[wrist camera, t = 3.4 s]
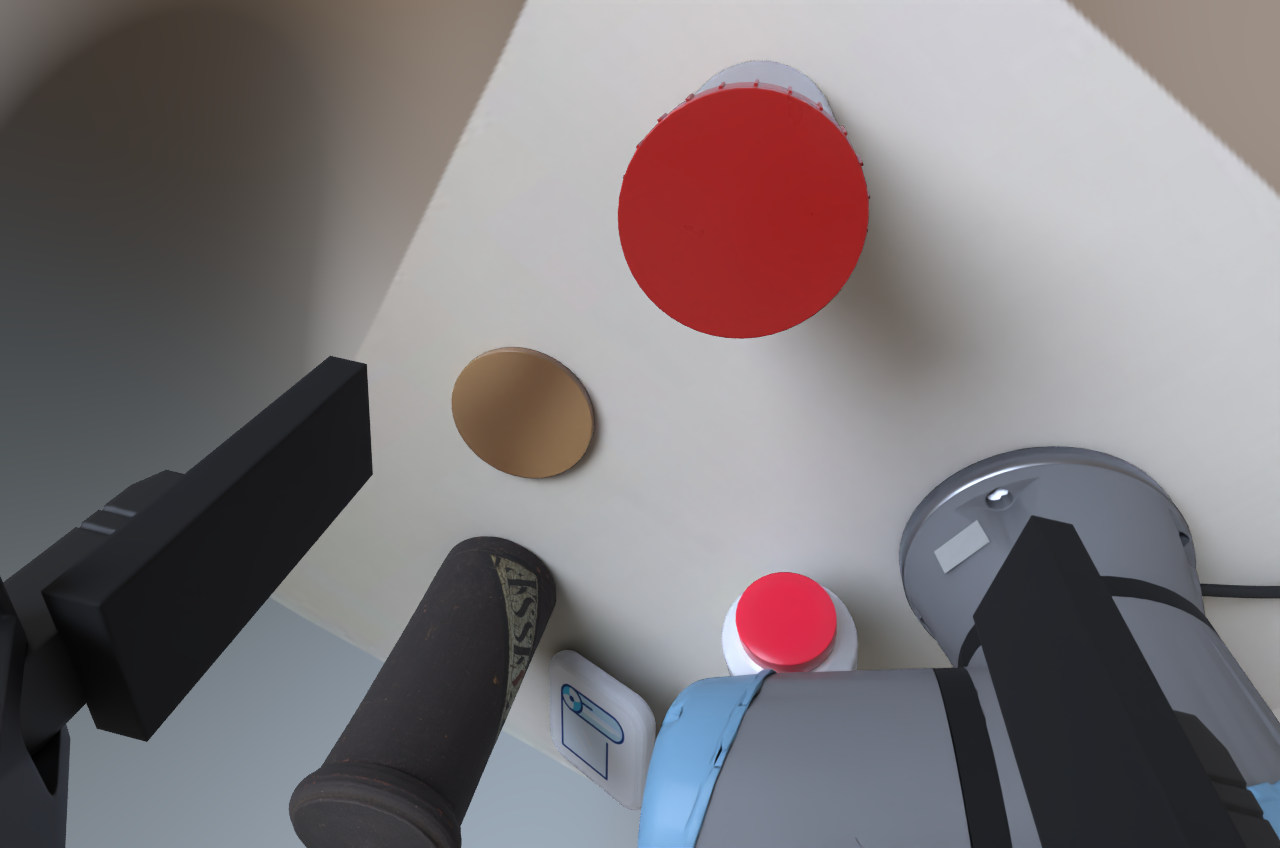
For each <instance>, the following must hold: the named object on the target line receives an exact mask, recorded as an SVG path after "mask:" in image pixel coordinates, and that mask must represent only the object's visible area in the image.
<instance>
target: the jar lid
mask: <svg viewBox="0 0 1280 848" xmlns="http://www.w3.org/2000/svg"><path fill="white" fill-rule="evenodd" d="M685 100H686V101H684V102H683V103H681V104H680V105H678V106H677V107H676V108H675V109H673V110H672V111H671V112H670V113H669V114H666V113H665V114H663V115H662V116H661V117H660V118H659V119H658V120H657V121H658V122H659V123H658V124H657V125H656V126H655V127H654V128H653V129H652V130H651V131H650V132H649V134H648V135H647V136H646V137H645V138H644V139H643V140H642V141H641V142H640V143H639V144H638V145H637V147H636V148H638V149H637V150H636V152H635V154H634V156H633V158H632V160H631V161H630V163H629V165H628V168H627V171H626V174H625V175H624V177H623V183H622V187H621V192H620V196H619V206H618V229H619V235H620V241H621V246H622V249H623V253H624V256H625V259H626V261H627V264H628V266H629V268H630V271H631V273H632V275H633V276H634V278H635V280H636V281H637V283H638V285H639V286H640V287H641V289H642V290H643V291H644V293H645V294H646V295H647V296H648V298H649V299H650V300H651V301H652V302H653V303H654V304H655V305H656V306H657V307H658V308H659V309H661V310H662V311H663V312H665V313H666V314H667V315H669V316H670V317H671V318H673V319H675V320H676V321H678V322H680V323H681V324H683V325H685V326H687V327H689V328H692V329H694V330H696V331H699V332H702V333H706V334H709V335H713V336H719V337H725V338H741V339H742V338H756V337H762V336H767V335H772V334H775V333H778V332H781V331H784V330H787V329H789V328H791V327H794V326H796V325H798V324H800V323H802V322H803V321H805V320H807V319H808V318H810V317H812V316H813V315H815V314H816V313H817V312H818V311H820V310H821V309H822V308H823V307H825V306H826V305H827V304H828V303H829V302H830V301H831V300H832V299H833V298H834V297H835V296H836V295H837V294H838V292H839V291H840V290H841V288H842V287H843V286H844V284H845V283H846V282H847V280H848V279H849V277H850V275H851V274H852V272H853V270H854V268H855V267H856V264H857V262H858V260H859V257H860V255H861V252H862V249H863V246H864V242H865V239H866V235H867V232H868V229H867V227H868V220H869V199H870V195H869V193H868V191H867V185H866V181H865V177H864V174H863V170H862V167H861V166H863V162H862V160H861V158H860V156H859V155H857V156H856V153H855V151H854V149H853V147H852V145H851V143H850V141H849V139H848V138H847V136H846V135H847V132H846V130H845V128H844V126H841V127H840V126H839V125H838V123H837V122H836V121H835V120H834V119H833V118H832V116H831V115H830V114H828V113H827V112H826V111H825V110H824V109H823V106H822V104H821V103H820V102H818V104H817V103H815V102H814V101H812V100H810V99H809V98H807V97H806V96H804V95H802V94H800V93H798V92H795V91H793V90H792V87H791V86H789V87H788V88H785V87H781V86H778V85H775V84H768V83H761V82H759V79H756V80H755V82H737V83H731V84H725V82H722V83H721V84H720V85H719V86H717V87H714V88H710V89H707V90H705V91H703V92H701V93H699V94H696V95H694V94H693V93H692V94H690V95H689V96H688V97H687V98H686V99H685Z"/></svg>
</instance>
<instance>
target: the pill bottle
mask: <svg viewBox="0 0 1280 848" xmlns="http://www.w3.org/2000/svg"><path fill="white" fill-rule="evenodd" d="M722 647H723V654H724V657H725V661H726V664H727V667H728V670H729V673H730V676H738V675H750V674H758V673H759V672H760V671H761V670H764V669H773V670H774V671H776V672H777V673H796V672H827V671H858V638H857V631H856V627H855V624H854V620H853V618H852V616H851V614H850V613H849V611H848V609H847V607H846V606H845V605H844V604H843V602H842V601H841V600H840V599H839V598H838V597H837V596H836V595H835V594H834V593H833V592H831V591H830V590H829V589H827V588H825V587H824V586H822V585H820V584H819V583H817V582H815V581H813V580H812V579H810V578H808V577H806V576H803V575H800V574H796V573H791V572H779V573H773V574H769V575H766V576H764V577H761V578H760V579H758V580H756V581H755V582H753V583H752V584H751V585H750V586H749V587H748V588H747V589H746V590H745V591H744V592H743V593H742V594H741V595H740V596H738V598H737V599H736V600H735V601H734V603H733V604H732V605H731V607H730V609H729V611H728V613H727V615H726V617H725V621H724V625H723V628H722Z"/></svg>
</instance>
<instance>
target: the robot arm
mask: <svg viewBox="0 0 1280 848" xmlns="http://www.w3.org/2000/svg"><path fill="white" fill-rule="evenodd" d="M372 475H373V471H372V453H371V435H370V416H369V398H368V379H367V364H364V363H359V362H355V361H350V360H346V359H342V358H337V357H333V356H330V357H328V358H327V359H326V360H324V361H323V362H322V363H321V364H320V365H318V366H317V367H316V368H315V369H313V370H312V371H311V372H310V373H309V374H307V375H306V376H305V377H304V378H302V379H301V380H300V381H299V382H297V383H296V384H295V385H294V386H293V387H291V388H290V389H289V390H288V391H286V392H285V393H284V394H283V395H281V396H280V397H279V398H278V399H277V400H275V401H274V402H273V403H272V404H270V405H269V406H268V407H267V408H265V409H264V410H263V411H262V412H261V413H259V414H258V415H257V416H256V417H254V418H253V419H252V420H251V421H250V422H248V423H247V424H246V425H245V426H243V427H242V428H241V429H240V430H238V431H237V432H236V433H235V434H233V435H232V436H231V437H230V438H229V439H227V440H226V441H225V442H224V443H222V444H221V445H220V446H219V447H217V448H216V449H215V450H214V451H213V452H212V453H210V454H209V455H208V456H206V457H205V458H204V459H203V460H201V461H200V462H199V463H198V464H197V465H195V466H194V467H193V468H192V469H190V470H189V471H188V472H187V473H186V474H181V473H177V472H173V471H169V470H165V471H162V472H160V473H158V474H156V475H153V476H151V477H149V478H146V479H144V480H142V481H139V482H137V483H135V484H133V485H131V486H129V487H128V488H127V489H125V490H124V491H123V492H121V493H120V494H119V495H117V496H116V497H115V498H114V499H112V500H111V501H110V502H108V503H107V504H106V505H104V508H103V510H102V511H101V510H98V511H97V512H95V513H94V514H93V515H91V516H90V517H89V518H87V519H86V520H85V521H83V522H82V525H81V527H80V528H77V527H75V528H74V529H73V530H72V531H70V532H69V533H68V534H66V535H65V536H64V537H62V538H61V539H60V540H59V541H57V542H56V543H55V544H53V545H52V546H51V547H49V548H48V549H47V550H45V551H44V552H43V553H41V554H40V555H39V556H37V557H36V558H35V559H34V560H32V561H31V562H30V563H28V564H27V565H26V566H24V567H23V568H22V569H21V570H19V571H18V572H17V573H15V574H14V575H13V576H12V577H10V578H9V579H7V580H6V581H5V582H2V579H1V577H0V848H65V840H66V839H65V838H66V819H67V798H68V797H67V796H68V775H69V755H70V736H69V732H68V729H67V726H66V723H67V722H68V721H69V720H70V719H71V718H72V717H73V716H74V715H75V714H76V713H77V712H78V711H79V710H80V709H81V708H82V707H83V706H84V705H85V704H86V703H87V706H88V708H89V711H90V713H91V715H92V718H93V720H94V723H95V725H96V727H97V729H101V730H105V731H109V732H112V733H116V734H120V735H124V736H127V737H131V738H135V739H139V740H142V741H146V742H147V741H148V740H149V739H150V738H151V736H152V735H153V734H154V733H155V732H156V731H157V729H158V728H159V727H160V726H161V725H162V723H163V722H164V721H165V720H166V719H167V717H168V716H169V715H170V714H171V713H172V712H173V710H174V709H175V708H176V707H177V706H178V704H179V703H180V702H181V701H182V700H183V699H184V697H185V696H186V695H187V694H188V693H189V691H190V690H191V689H192V688H193V687H194V686H195V684H196V683H197V682H198V681H199V680H200V678H201V677H202V676H203V675H204V673H205V672H206V671H207V670H208V669H209V668H210V666H211V665H212V664H213V663H214V662H215V660H216V659H217V658H218V657H219V656H220V655H221V654H222V652H223V651H224V650H225V649H226V648H227V646H228V645H229V644H230V643H231V642H232V640H233V639H234V638H235V637H236V636H237V635H238V633H239V632H240V631H241V630H242V628H243V627H244V626H245V625H246V624H247V623H248V621H249V620H250V619H251V618H252V617H253V616H254V614H255V613H256V612H257V611H258V610H259V608H260V607H261V606H262V605H263V604H264V603H265V601H266V600H267V599H268V598H269V597H270V595H271V594H272V593H273V592H274V591H275V589H276V588H277V587H278V586H279V585H280V584H281V582H282V581H283V580H284V579H285V578H286V576H287V575H288V574H289V573H290V572H291V571H292V569H293V568H294V567H295V566H296V565H297V563H298V562H299V561H300V560H301V559H302V557H303V556H304V555H305V554H306V553H307V552H308V550H309V549H310V548H311V547H312V546H313V544H314V543H315V542H316V541H317V540H318V539H319V537H320V536H321V535H322V534H323V533H324V531H325V530H326V529H327V528H328V527H329V525H330V524H331V523H332V522H333V521H334V520H335V518H336V517H337V516H338V515H339V514H340V512H341V511H342V510H343V509H344V508H345V507H346V505H347V504H348V503H349V502H350V501H351V499H352V498H353V497H354V496H355V495H356V493H357V492H358V491H359V490H360V489H361V488H362V486H363V485H364V484H365V483H366V482H367V480H368V479H369V478H370V477H371V476H372ZM899 564H900V571H901V576H902V581H903V586H904V590H905V594H906V598H907V600H908V602H909V605H910V607H911V609H912V610H913V612H914V614H915V615H916V617H917V618H918V620H919V621H920V623H921V624H922V625H923V627H924V628H925V629H926V631H927V632H928V633H929V634H930V635H931V636H932V637H933V638H934V639H935V640H936V641H937V642H938V644H939V646H940V647H941V649H942V650H943V652H944V653H945V655H946V656H947V657H948V659H949V661H950V662H951V664H952V665H953V667H954V668H923V669H891V670H859V671H827V672H796V673H777V672H776V671H774V670H773V669H764V670H761V671H760V672H759V673H758V674H750V675H738V676H726V677H714V678H706V679H702V680H699V681H697V682H694V683H692V684H691V685H689V686H688V687H687V688H685V689H684V690H683V691H682V692H681V693H680V694H679V695H678V697H677V698H676V699H675V700H674V702H673V703H672V705H671V706H670V708H669V710H668V712H667V714H666V716H665V719H664V721H663V723H662V727H661V729H660V731H659V733H658V736H657V739H656V742H655V746H654V749H653V753H652V757H651V761H650V764H649V769H648V773H647V778H646V784H645V789H644V795H643V801H642V808H641V816H640V824H639V835H638V848H1280V723H1279V721H1278V720H1277V718H1276V717H1275V716H1274V714H1273V713H1272V711H1271V710H1270V708H1269V707H1268V705H1267V704H1266V703H1265V701H1264V700H1263V698H1262V697H1261V695H1260V694H1259V692H1258V691H1257V690H1256V688H1255V687H1254V685H1253V684H1252V682H1251V681H1250V680H1249V678H1248V677H1247V675H1246V674H1245V672H1244V671H1243V670H1242V668H1241V667H1240V665H1239V664H1238V662H1237V661H1236V659H1235V658H1234V657H1233V655H1232V654H1231V652H1230V651H1229V649H1228V648H1227V647H1226V645H1225V644H1224V642H1223V641H1222V640H1221V638H1220V637H1219V635H1218V634H1217V632H1216V631H1215V629H1214V628H1213V626H1212V625H1211V623H1210V622H1209V621H1208V619H1207V618H1206V616H1205V611H1204V605H1203V599H1202V596H1213V597H1233V598H1280V586H1239V585H1218V584H1200V582H1199V578H1198V574H1197V572H1196V558H1195V551H1194V545H1193V541H1192V537H1191V533H1190V530H1189V528H1188V525H1187V523H1186V521H1185V519H1184V517H1183V515H1182V514H1181V513H1180V511H1179V510H1178V508H1177V507H1176V506H1175V504H1174V503H1173V502H1172V501H1171V499H1170V498H1169V497H1168V495H1167V494H1166V493H1165V492H1164V490H1163V489H1162V488H1161V487H1160V486H1159V485H1158V484H1157V483H1156V482H1155V481H1154V480H1153V479H1152V478H1151V477H1150V476H1148V475H1147V474H1146V473H1145V472H1143V471H1142V470H1140V469H1139V468H1137V467H1135V466H1134V465H1132V464H1130V463H1128V462H1126V461H1124V460H1122V459H1119V458H1116V457H1114V456H1111V455H1108V454H1105V453H1101V452H1098V451H1093V450H1088V449H1083V448H1073V447H1054V446H1053V447H1035V448H1027V449H1021V450H1016V451H1011V452H1006V453H1003V454H999V455H996V456H992V457H990V458H987V459H984V460H981V461H979V462H977V463H975V464H972V465H970V466H968V467H966V468H964V469H962V470H961V471H959V472H957V473H955V474H954V475H952V476H951V477H949V478H948V479H946V480H945V481H943V482H942V483H941V484H940V485H938V486H937V487H936V488H935V489H934V490H932V491H931V492H930V493H929V494H928V495H927V496H926V497H925V498H924V500H923V501H922V502H921V503H920V504H919V505H918V507H917V508H916V510H915V511H914V512H913V514H912V515H911V517H910V519H909V521H908V523H907V525H906V527H905V530H904V532H903V535H902V539H901V543H900V550H899Z"/></svg>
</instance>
